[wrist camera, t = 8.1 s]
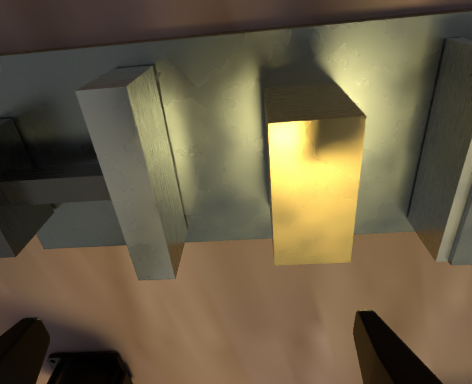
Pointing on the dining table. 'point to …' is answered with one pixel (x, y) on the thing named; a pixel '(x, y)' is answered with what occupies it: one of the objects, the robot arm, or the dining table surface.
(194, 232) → the vise
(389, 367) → the robot arm
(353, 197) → the block
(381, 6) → the dining table surface
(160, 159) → the jaw
